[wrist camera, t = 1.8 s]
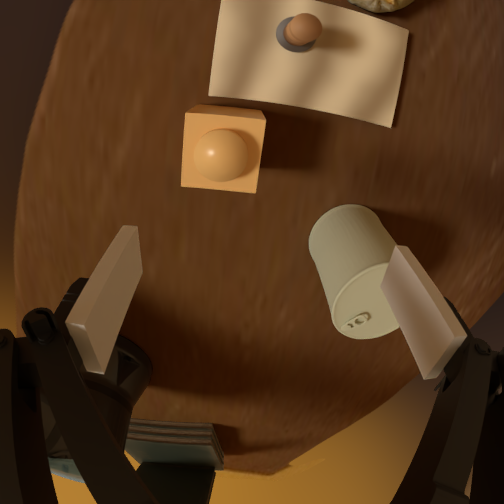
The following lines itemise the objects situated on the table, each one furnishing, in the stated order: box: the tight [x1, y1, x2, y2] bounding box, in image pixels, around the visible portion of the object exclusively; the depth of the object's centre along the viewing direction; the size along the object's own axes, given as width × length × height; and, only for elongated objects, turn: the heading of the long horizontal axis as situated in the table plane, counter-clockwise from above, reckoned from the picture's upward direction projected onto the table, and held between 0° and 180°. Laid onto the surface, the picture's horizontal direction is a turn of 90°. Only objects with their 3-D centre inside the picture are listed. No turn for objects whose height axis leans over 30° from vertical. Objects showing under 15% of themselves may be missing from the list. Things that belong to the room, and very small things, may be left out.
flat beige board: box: [209, 0, 409, 128], centre depth 22 cm, size 18×11×6 cm, turn 83°
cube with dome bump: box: [181, 104, 266, 193], centre depth 25 cm, size 6×6×8 cm
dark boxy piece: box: [125, 418, 224, 504], centre depth 54 cm, size 23×20×25 cm
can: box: [309, 204, 400, 339], centre depth 30 cm, size 9×9×12 cm
